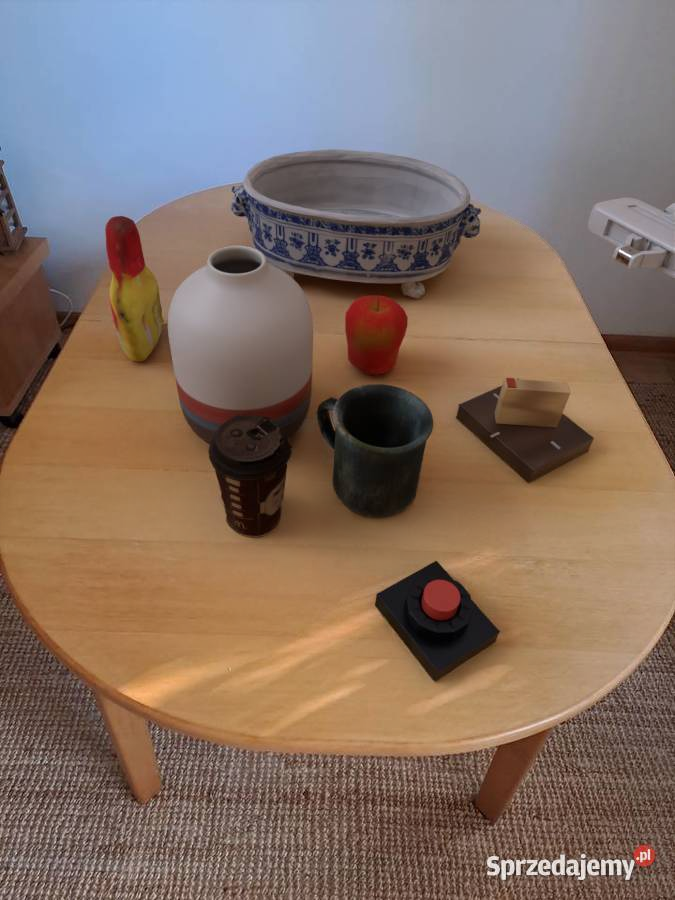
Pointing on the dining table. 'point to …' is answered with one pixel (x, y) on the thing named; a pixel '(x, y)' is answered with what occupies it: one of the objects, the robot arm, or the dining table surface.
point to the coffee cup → (251, 472)
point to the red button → (440, 600)
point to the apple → (374, 333)
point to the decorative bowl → (356, 216)
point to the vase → (241, 343)
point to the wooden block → (531, 402)
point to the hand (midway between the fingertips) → (622, 258)
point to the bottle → (132, 290)
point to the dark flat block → (523, 438)
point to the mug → (376, 446)
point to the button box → (435, 623)
